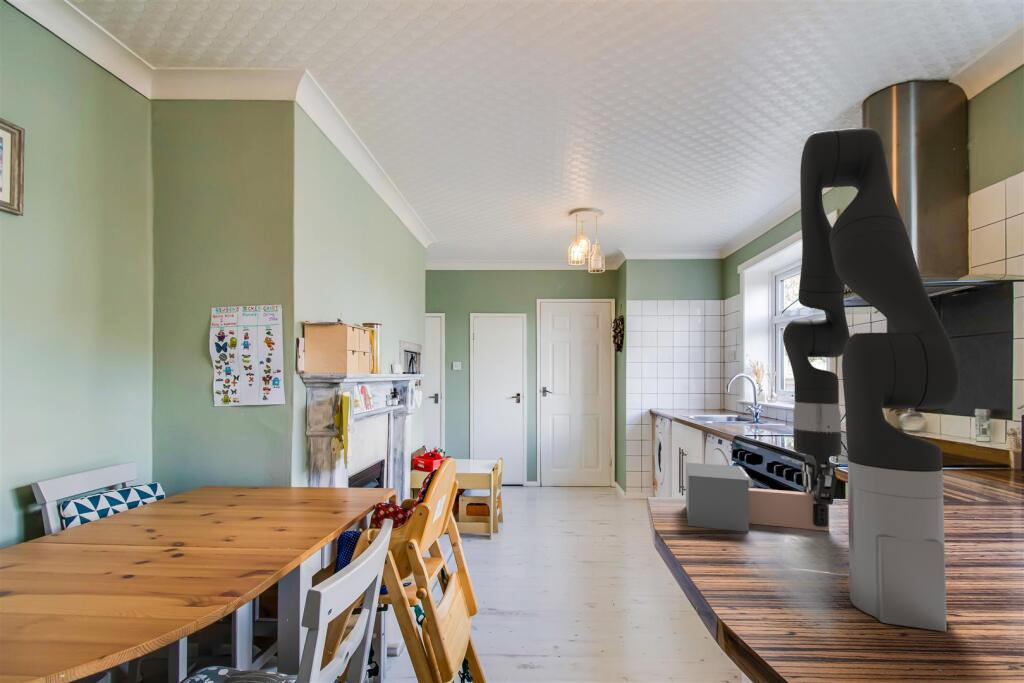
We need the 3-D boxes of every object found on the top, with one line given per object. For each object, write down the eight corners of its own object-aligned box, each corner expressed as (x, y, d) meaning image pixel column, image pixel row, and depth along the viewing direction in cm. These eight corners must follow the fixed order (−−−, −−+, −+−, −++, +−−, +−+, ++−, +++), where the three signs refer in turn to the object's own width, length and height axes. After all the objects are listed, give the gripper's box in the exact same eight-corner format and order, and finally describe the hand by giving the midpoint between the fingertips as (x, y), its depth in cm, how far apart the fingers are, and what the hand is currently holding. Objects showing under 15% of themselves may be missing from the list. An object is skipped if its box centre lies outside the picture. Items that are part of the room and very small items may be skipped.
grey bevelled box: (754, 532, 89) (754, 480, 89) (688, 525, 92) (688, 475, 92) (743, 511, 102) (742, 466, 103) (685, 506, 105) (685, 462, 106)
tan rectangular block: (829, 531, 90) (828, 496, 91) (732, 521, 95) (732, 489, 95) (825, 527, 93) (824, 493, 93) (730, 518, 97) (730, 486, 98)
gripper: (854, 433, 85) (855, 538, 84) (828, 425, 99) (829, 515, 98) (804, 430, 87) (805, 533, 86) (785, 423, 101) (786, 511, 100)
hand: (818, 523), depth 92 cm, fingers closed on tan rectangular block, 2 cm apart
